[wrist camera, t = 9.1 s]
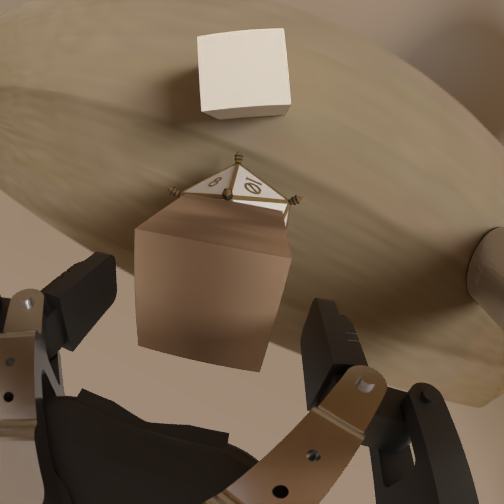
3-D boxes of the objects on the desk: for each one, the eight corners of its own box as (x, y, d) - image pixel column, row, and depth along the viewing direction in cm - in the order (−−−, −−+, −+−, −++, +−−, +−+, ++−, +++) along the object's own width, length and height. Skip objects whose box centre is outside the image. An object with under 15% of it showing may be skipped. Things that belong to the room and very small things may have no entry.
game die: (229, 216, 26) (146, 278, 20) (230, 131, 20) (120, 179, 14) (313, 258, 23) (239, 347, 16) (337, 164, 17) (242, 243, 11)
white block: (279, 57, 17) (283, 28, 12) (284, 115, 19) (291, 104, 14) (215, 62, 18) (197, 36, 12) (219, 119, 19) (201, 111, 14)
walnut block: (282, 211, 14) (291, 258, 8) (262, 295, 16) (259, 372, 10) (186, 193, 14) (134, 228, 8) (177, 278, 16) (138, 345, 10)
